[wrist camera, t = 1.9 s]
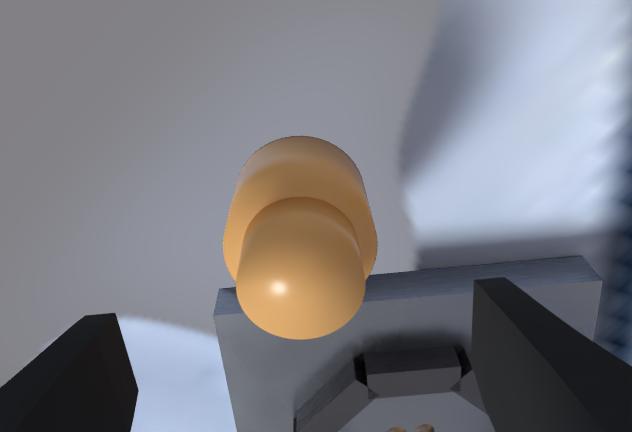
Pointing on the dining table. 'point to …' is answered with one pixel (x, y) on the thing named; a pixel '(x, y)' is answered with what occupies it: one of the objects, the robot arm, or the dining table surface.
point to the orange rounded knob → (300, 238)
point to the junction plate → (388, 352)
